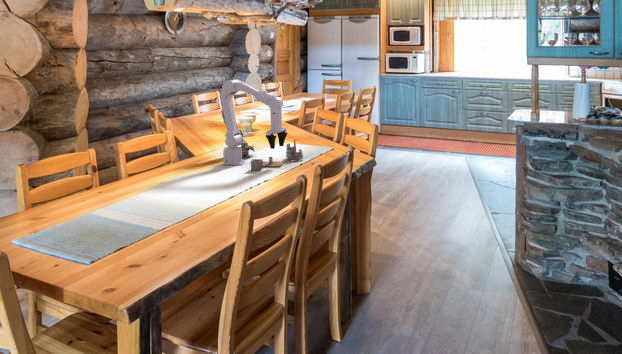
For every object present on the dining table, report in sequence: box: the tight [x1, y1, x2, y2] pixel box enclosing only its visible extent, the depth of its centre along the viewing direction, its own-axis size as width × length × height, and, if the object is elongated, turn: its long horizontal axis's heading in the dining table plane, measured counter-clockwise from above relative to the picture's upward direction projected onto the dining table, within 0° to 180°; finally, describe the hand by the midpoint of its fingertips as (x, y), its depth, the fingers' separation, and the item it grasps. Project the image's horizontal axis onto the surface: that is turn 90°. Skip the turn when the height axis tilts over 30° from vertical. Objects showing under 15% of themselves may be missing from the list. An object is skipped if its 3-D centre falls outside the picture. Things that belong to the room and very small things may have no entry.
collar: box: [250, 158, 264, 172], centre depth 286 cm, size 5×5×5 cm
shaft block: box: [263, 156, 285, 168], centre depth 296 cm, size 12×10×4 cm
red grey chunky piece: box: [285, 139, 304, 161], centre depth 310 cm, size 11×11×12 cm
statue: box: [220, 109, 256, 157], centre depth 321 cm, size 16×18×30 cm
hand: (277, 147), depth 293 cm, fingers open, 7 cm apart
